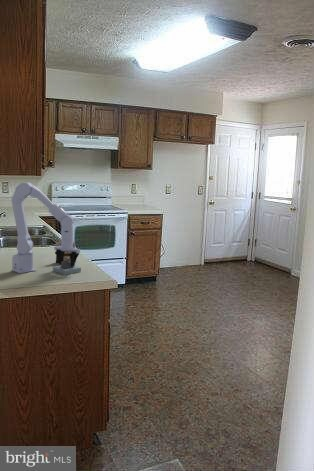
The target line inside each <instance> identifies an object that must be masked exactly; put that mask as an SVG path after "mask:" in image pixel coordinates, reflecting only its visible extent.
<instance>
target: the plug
mask: <svg viewBox="0 0 314 471" xmlns="http://www.w3.org/2000/svg"><path fill="white" fill-rule="evenodd" d="M60 266H61V268H63V269H70V268H72V267H71V261H69V258H68V257H65V258H64V261H63V262H61V265H60Z"/></svg>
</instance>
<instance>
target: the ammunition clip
mask: <svg viewBox="0 0 314 471" xmlns="http://www.w3.org/2000/svg"><path fill="white" fill-rule="evenodd" d="M56 246H61V242H60V243H59V241H57V242H56ZM73 248H76V243H75V241H73ZM56 251H57V250H55V252H56ZM70 253H72V252H66V251H65V253H64V258H65V257H68V258H69V261H71V260H70V255H69V254H70ZM55 255H56V254H55ZM63 261H64V259H63ZM55 263H56V264H59V260H58V258H57V255H56V256H55Z"/></svg>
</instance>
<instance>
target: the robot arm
mask: <svg viewBox="0 0 314 471" xmlns="http://www.w3.org/2000/svg"><path fill="white" fill-rule="evenodd" d="M28 197H31V198H36V199H37V200H38V201H40V202H41V203H42V204H43V205H44V206H45V207H47V208H48V212H49V213H50V215H51V216H53V217H54V218H55V219H56V220H57V221H58V222H59V223H60V225H61V233H60V235H61V237H60V238H61V240H60V243H61V246H60V245H59V246H57V245H54V247H53V248H54V251H55V252H54V254H55V255H57V258H58V260H59V263H58V264H59V266H61V262H63V259H64V253H65V251H66V252H72V253H70V254H69V255H70V260H71V267H74V266H76V263H77V262H76V261H77V259H78V257H79V255H80V253H81V249H80V248H76V247H75V248H73V242H74V230H73V229H74V225H73V224H74V221H75V220H74V217H72V215H71V214H70V213H69V212H67V211H66V210H64V209H63V208H62V205H61V204H57V203H53V202H52V201H51V200H50V198H48V196H47V195H46V194H44V192H43V191H41V190H40V188H38V187H37V186H36V185H34V184H33V183H32V182H30V181H26V182H21V183H19V184H18V185H17V186H16V187H15V188H14V193H13V195H12V197H11V205H12V211H13V215H14V220H15V226H16V227H15V228H16V231H17V239H16V241H17V245H16V251H17V253H15V254H14V255H12V259H11V261H12V262H11V263H12V264H11V265H12V266H11V267H12V268H11V271H13V272H16V273H17V274H24V273H29V272H36V271H37V269H36V268H34V252H33V250H32V249H33V247H34V241H33V240H32V239H31V235H30V233H29V230H28V228H29V227H28V224H27V218H26V214H25V207H24V201H25V200H26V199H27V198H28ZM56 250H57V251H56Z"/></svg>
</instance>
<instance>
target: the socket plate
mask: <svg viewBox="0 0 314 471" xmlns="http://www.w3.org/2000/svg"><path fill="white" fill-rule="evenodd" d="M52 271H53V272H55V273H59V274H61V275H64V276H65V275H71V274H77V273H81V271H82V267H80V266H76V265H75V266H74V267H72V268H70V269H63V268H61V265H56V266H55V265H54V266H52Z"/></svg>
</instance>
